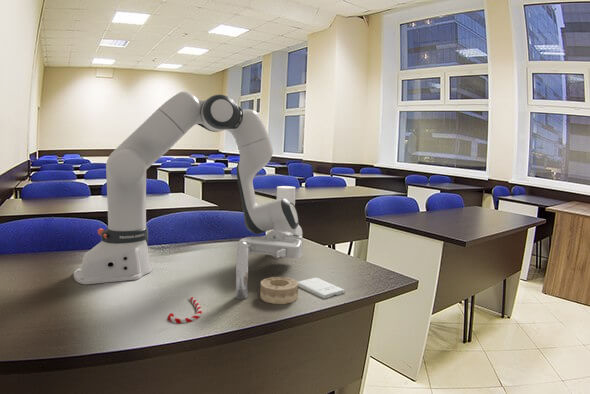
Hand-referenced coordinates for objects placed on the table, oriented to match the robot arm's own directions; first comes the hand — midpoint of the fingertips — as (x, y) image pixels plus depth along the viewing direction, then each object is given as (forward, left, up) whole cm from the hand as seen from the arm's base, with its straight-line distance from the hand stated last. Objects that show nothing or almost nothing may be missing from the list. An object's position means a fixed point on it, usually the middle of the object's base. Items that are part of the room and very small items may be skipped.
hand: (260, 253), depth 125 cm
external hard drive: (+13, -13, -10) cm, 21 cm away
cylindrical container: (+27, +28, -9) cm, 40 cm away
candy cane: (-26, -8, -10) cm, 29 cm away
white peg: (-10, -7, -9) cm, 15 cm away
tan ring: (-1, -12, -9) cm, 15 cm away
